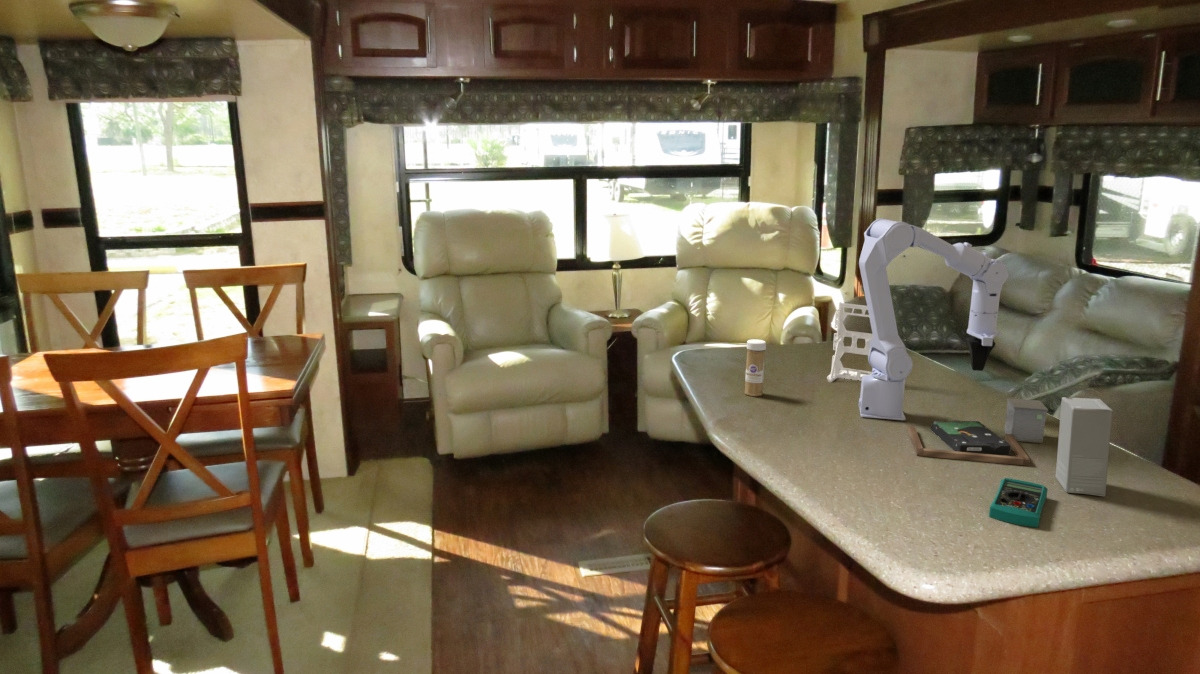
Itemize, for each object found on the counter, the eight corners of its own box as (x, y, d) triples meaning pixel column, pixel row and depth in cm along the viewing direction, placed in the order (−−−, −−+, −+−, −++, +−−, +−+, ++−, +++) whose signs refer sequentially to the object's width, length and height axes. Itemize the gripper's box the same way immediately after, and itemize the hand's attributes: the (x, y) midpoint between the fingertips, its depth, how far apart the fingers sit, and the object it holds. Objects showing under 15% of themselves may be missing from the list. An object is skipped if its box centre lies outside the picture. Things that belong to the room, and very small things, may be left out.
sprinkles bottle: (744, 396, 200) (747, 342, 197) (744, 391, 204) (746, 338, 201) (763, 397, 199) (766, 343, 196) (762, 391, 203) (765, 339, 200)
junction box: (1009, 440, 171) (1014, 407, 169) (1002, 430, 177) (1006, 398, 175) (1043, 443, 169) (1048, 409, 168) (1035, 433, 176) (1039, 400, 174)
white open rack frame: (893, 377, 217) (900, 303, 213) (880, 390, 206) (887, 312, 201) (839, 369, 225) (845, 297, 220) (823, 381, 213) (829, 305, 209)
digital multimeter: (987, 520, 135) (989, 504, 134) (1000, 490, 147) (1002, 474, 146) (1037, 532, 131) (1039, 515, 130) (1046, 499, 143) (1048, 484, 142)
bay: (916, 455, 162) (917, 449, 162) (907, 430, 176) (908, 425, 176) (1029, 465, 157) (1030, 460, 157) (1011, 439, 171) (1011, 434, 171)
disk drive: (1010, 458, 163) (977, 432, 177) (1012, 445, 162) (978, 420, 176) (958, 458, 163) (929, 431, 177) (960, 445, 162) (930, 419, 176)
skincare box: (1105, 498, 143) (1119, 411, 139) (1060, 492, 145) (1072, 407, 141) (1092, 480, 151) (1105, 397, 147) (1049, 475, 153) (1061, 393, 149)
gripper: (1010, 318, 177) (1003, 379, 180) (996, 306, 190) (989, 363, 193) (975, 316, 178) (968, 377, 181) (963, 304, 192) (957, 361, 195)
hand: (977, 369), depth 187 cm, fingers closed
